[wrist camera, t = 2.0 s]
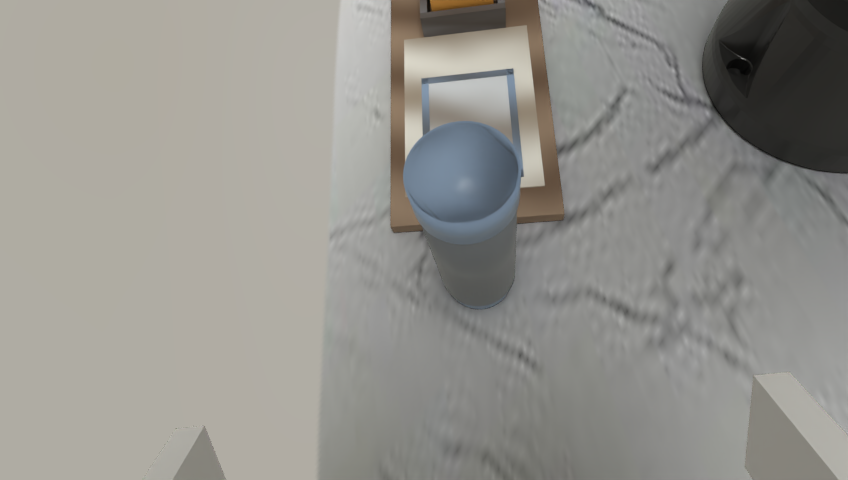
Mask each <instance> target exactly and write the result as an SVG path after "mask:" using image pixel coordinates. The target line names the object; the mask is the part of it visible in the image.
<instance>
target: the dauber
mask: <svg viewBox="0 0 848 480" xmlns="http://www.w3.org/2000/svg"><path fill="white" fill-rule="evenodd" d="M403 182H404V187H405V191H406V194H407V196H408V199H409V201H410V204H411V206H412V209H413V211H414V214H415V216H416V218H417V220H418V222H419V223H420V224H421V226H422V228H423V231H424V233H425V236H426V238H427V241H428V244H429V246H430V249H431V251H432V254H433V257H434V259H435V262H436V264H437V267H438V270H439V272H440V275H441V277H442V280H443V283H444V285H445V287H446V289H447V291H448V292H449V293H450V294H451V295H452V296H453V297H454V298H455V299H456V300H457V301H458V302H459V303H461V304H462V305H464V306H466V307H469V308H473V309H486V308H490V307H492V306H494V305H496V304H498V303H499V302H500V301H502V300H503V299H504V297H505V296H506V295H507V293H508V291H509V289H510V288H511V286H512V284H513V281H514V277H515V258H516V228H517V209H518V205H519V200H520V185H521V164H520V159H519V156H518V153H517V151H516V149H515V147H514V145H513V144H512V143H511V141H510V140H509V139H508V138H507V137H506V136H505V135H504V134H503V133H501V132H500V131H498V130H497V129H495V128H493V127H491V126H489V125H486V124H483V123H479V122H474V121H457V122H451V123H447V124H443V125H441V126H439V127H436V128H434V129H432V130H431V131H429V132H428V133H426V134H425V135H424V136H422V137H421V138H420V139H419V140H418V141H417V142H416V143H415V145H414V146H413V147H412V149H411V150H410V152H409V154H408V156H407V158H406V161H405V165H404V170H403Z"/></svg>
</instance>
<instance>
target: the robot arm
mask: <svg viewBox="0 0 848 480" xmlns="http://www.w3.org/2000/svg"><path fill="white" fill-rule="evenodd" d="M703 75H704V80H705V84H706V88H707V90H708V93H709V95H710V98H711V100H712V102H713V103H714V105H715V107H716V108H717V110H718V111H719V113H720V114H721V115H722V117H723V118H724V119H725V120H726V121H727V123H728V124H729V125H730V126H731V127H732V128H733V129H734V130H735V131H736V132H738V133H739V134H740V135H741V136H742V137H744V138H745V139H746V140H748V141H749V142H750V143H752V144H754V145H755V146H757V147H758V148H760V149H762V150H763V151H765V152H767V153H769V154H771V155H773V156H775V157H778V158H780V159H782V160H785V161H788V162H790V163H793V164H797V165H800V166H804V167H808V168H812V169H817V170H823V171H831V172H845V173H848V0H729V1H728V2H727V4H726V5H725V6H724V8H723V9H722V11H721V13H720V15H719V17H718V19H717V21H716V23H715V25H714V27H713V29H712V31H711V33H710V35H709V37H708V40H707V43H706V46H705V49H704V55H703ZM745 468H746V470H747V471H748V473H749V475H750V476H751V478H752V479H753V480H848V435H847V434H846V433H845V432H844V431H843V430H842V429H841V428H840V426H839V425H838V424H837V423H836V422H835V421H834V420H833V419H832V418H831V417H830V416H829V414H828V413H827V412H826V411H825V410H824V409H823V408H822V407H821V406H820V405H819V404H818V403H817V401H816V400H815V399H814V398H813V397H812V396H811V395H810V394H809V393H808V392H807V391H806V389H805V388H804V387H803V386H802V385H801V384H800V383H799V382H798V381H797V380H796V379H795V378H794V376H793V375H792V374H791V373H790V372H784V373H773V374H762V375H753V386H752V396H751V406H750V417H749V427H748V437H747V447H746V458H745ZM142 480H226V478H225V476H224V474H223V471H222V468H221V466H220V463H219V461H218V459H217V456H216V453H215V451H214V448H213V446H212V443H211V441H210V438H209V436H208V433H207V431H206V428H205V426H196V427H185V428H176V429H175V430H174V432H173V433H172V435H171V437H170V438H169V440H168V441H167V443H166V444H165V446H164V447H163V449H162V450H161V452H160V453H159V455H158V456H157V458H156V459H155V461H154V462H153V464H152V466H151V467H150V469H149V470H148V472H147V473H146V475H145V476H144V478H143V479H142Z"/></svg>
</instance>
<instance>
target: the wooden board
mask: <svg viewBox="0 0 848 480" xmlns="http://www.w3.org/2000/svg"><path fill="white" fill-rule="evenodd" d="M493 2H494V4H488V5H480V6H472V7H464V8H456V9H448V10H441V11H433V12H432V9H431V4H430V0H391V229H392V230H393V232H394V233H396V232H409V231H423V228H422V226H421V224H420V223H419V222H418V220H417V218H416V216H415V214H414V211H413V209H412V206H411V204H410V201H409V199H408V196H407V194H406V191H405V187H404V182H403V170H404V165H405V161H406V158H407V156H408V154H409V152H410V150H411V149H412V147H413V146H414V145H415V143H416V142H417V141H418V140H419V139H420V138H421V137H422V136H424V135H425V134H426V133H428V132H429V131H431V130H432V129H434V128H436V127H439V126H441V125H443V124H447V123H451V122H457V121H474V122H479V123H483V124H486V125H489V126H491V127H493V128H495V129H497V130H498V131H500V132H501V133H503V134H504V135H505V136H506V137H507V138H508V139H509V140H510V141H511V143H512V144H513V145H514V147H515V149H516V151H517V153H518V156H519V159H520V164H521V185H520V200H519V205H518V209H517V223H530V222H544V221H557V220H563V218H564V206H563V198H562V190H561V182H560V174H559V166H558V158H557V150H556V143H555V135H554V127H553V119H552V111H551V103H550V95H549V87H548V79H547V71H546V63H545V55H544V47H543V39H542V32H541V24H540V16H539V8H538V0H493Z"/></svg>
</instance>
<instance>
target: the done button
mask: <svg viewBox="0 0 848 480" xmlns="http://www.w3.org/2000/svg"><path fill="white" fill-rule="evenodd" d="M430 4H431V9H432V12H433V11H441V10H448V9H456V8H464V7H472V6H480V5H488V4H494V2H493V0H430Z"/></svg>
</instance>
